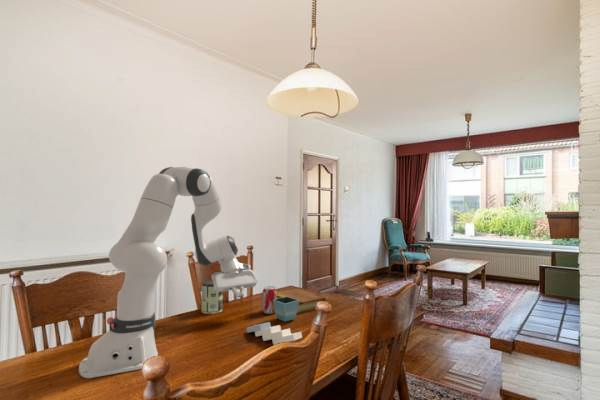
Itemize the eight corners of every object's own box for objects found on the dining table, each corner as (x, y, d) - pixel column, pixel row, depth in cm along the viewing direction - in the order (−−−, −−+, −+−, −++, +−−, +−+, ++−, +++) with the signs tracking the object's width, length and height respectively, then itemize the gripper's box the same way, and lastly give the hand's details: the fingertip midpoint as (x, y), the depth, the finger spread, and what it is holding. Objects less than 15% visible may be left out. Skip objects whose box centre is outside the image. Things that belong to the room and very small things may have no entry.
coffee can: (215, 306, 166) (216, 278, 167) (226, 310, 159) (227, 282, 160) (197, 310, 159) (197, 281, 159) (208, 315, 152) (208, 285, 152)
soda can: (274, 315, 153) (274, 289, 154) (260, 314, 155) (260, 288, 155) (278, 310, 160) (278, 286, 161) (264, 309, 162) (264, 285, 162)
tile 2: (263, 341, 122) (282, 336, 117) (262, 335, 123) (281, 331, 118) (272, 338, 126) (291, 333, 121) (271, 332, 127) (289, 328, 122)
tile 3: (273, 344, 119) (294, 340, 114) (272, 339, 119) (293, 334, 114) (281, 341, 123) (302, 337, 118) (280, 336, 123) (301, 331, 118)
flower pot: (272, 319, 148) (272, 299, 148) (287, 315, 154) (287, 296, 154) (284, 324, 141) (284, 303, 142) (299, 320, 147) (299, 300, 148)
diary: (325, 308, 167) (325, 297, 167) (297, 315, 156) (297, 303, 156) (298, 298, 185) (298, 287, 185) (271, 303, 174) (271, 292, 174)
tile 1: (255, 336, 127) (271, 333, 121) (254, 331, 128) (270, 327, 121) (265, 333, 131) (281, 330, 124) (264, 328, 131) (280, 324, 125)
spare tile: (247, 332, 131) (260, 330, 124) (246, 327, 132) (259, 324, 125) (257, 329, 135) (271, 327, 128) (256, 324, 135) (270, 321, 128)
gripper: (212, 269, 144) (220, 296, 135) (253, 264, 156) (262, 289, 148) (208, 277, 147) (216, 304, 139) (248, 272, 159) (257, 296, 151)
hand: (240, 296), depth 143 cm, fingers closed
